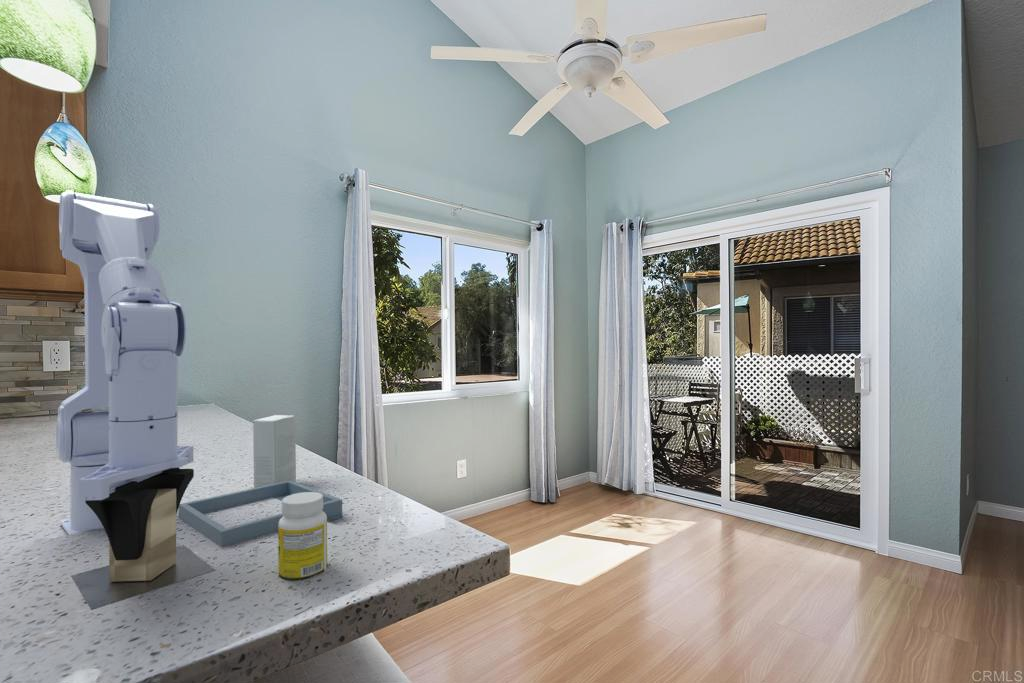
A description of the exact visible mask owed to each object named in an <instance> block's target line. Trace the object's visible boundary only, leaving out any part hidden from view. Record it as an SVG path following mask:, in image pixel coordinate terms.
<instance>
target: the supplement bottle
mask: <svg viewBox="0 0 1024 683" xmlns="http://www.w3.org/2000/svg"><path fill="white" fill-rule="evenodd" d="M322 509H323V495H322V494H320V493H316V492H303V493H296V494H292V495H289V496H287V497H285V498H283V500H282V501H281V514H283V515H284V516H283V517H282V518H281V519H280V520H279V524H278V531H277V534H278V538H277V540H278V545H277V546H278V577H279V578H280V579H282V580H284V581H290V582H291V581H293V582H294V581H295V582H296V581H304V580H308V579H312V578H314V577H316V576H319V575H321V574H323V573H324V572H325V571H327V568H328V522H327V516H326V514H325V512H323V511H322Z"/></svg>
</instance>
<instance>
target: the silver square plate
mask: <svg viewBox="0 0 1024 683" xmlns="http://www.w3.org/2000/svg"><path fill="white" fill-rule="evenodd" d="M211 572H216V569H215V568H213V567H212V566H211V565H209V564H208V563H207V562H206V561H205V560H204V559H202V558H201V557H199V556H198V555H197V554H196V553H195V552H193V551H192V550H191V549H190V548H188V547H187V546H185V544H183V545H180V546H176V563H175V564H174V565H172V566H171V567H169V568H168V569H167V570H165V571H164V572H162V573H161V574H159V575H158V576H157V577H155V578H154V579H152V580H149V581H117V582H109V565H105V566H103V567H98V568H94V569H90V570H87V571H84V572H80V573H77V574H76V573H75V574H71V576H70V577H71V578H72V580H73V582H74V583H75V586H76V587H77V588H78V590H79V592H80V594H81V596H82V597H83V598H84V600H85V602H86V604H87V605H88V607H89V609H90V610H91V611H92V610H95V609H99V608H103V607H105V606H108V605H111V604H114V603H117V602H120V601H123V600H127V599H131V598H135V597H136V596H139V595H143V594H145V593H149V592H151V591H152V592H153V591H155V590H159V589H161V588H164V587H168V586H171V585H175V584H176V583H180V582H183V581H187V580H189V579H192V578H197V577H199V576H202V575H205V574H208V573H211Z"/></svg>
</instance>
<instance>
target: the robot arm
mask: <svg viewBox="0 0 1024 683" xmlns="http://www.w3.org/2000/svg"><path fill="white" fill-rule="evenodd" d="M58 230H59V250H60V251H61V254H62V258H63V259H65V260H67V261H69V262H71V263H74V264H75V265H77V266H78V267H79V270H80V274H81V277H82V280H83V284H84V285H83V286H84V287H83V288H84V292H83V293H84V298H83V299H84V376H85V380H84V381H85V383H84V384H85V386H84V387H83V388H82V389H80V390H79V391H77V392H75V393H73V394H72V395H70V396H69V397H67V398H65V399H64V400H63V401H62V402H61V403H60V406H58V408H57V419H56V425H55V446H56V448H55V450H56V456H57V459H58V460H59V461H61V462H62V463H68V464H69V465H70V479H69V482H70V483H69V490H70V491H69V500H70V501H69V518H65V519H64V518H63V519H61V520H60V522H59V523H60V525H61V527H62V528H63V529H64V531H65V532H66V534H67V535H69V536H70V535H74V534H79V533H83V532H87V531H92V530H100V529H104V531H105V533H106V536H107V539H108V543H109V542H110V545H111V548H112V551H113V554H114V557H115V559H116V560H136V559H138V558H140V557H141V556H142V552H143V549H144V544H145V535H146V525H147V520H148V515H149V512H150V509H151V506H152V503H153V501H154V498H155V496H156V494H157V492H158V489H176V516H177V514H178V508H179V505H180V504H181V501H182V499H183V497H184V494H185V492H186V490H187V488H188V486H189V484H190V483H191V482H192V480H193V478H195V477H194V476H195V473H194V472H195V471H194V468H183V467H184V466H187V465H189V464H191V463H193V462H194V445H178V402H179V401H178V400H179V399H178V390H179V389H178V377H179V376H178V372H179V371H178V368H179V367H178V366H179V365H178V362H179V360H178V357H181V356H182V354H183V352H184V349H185V345H186V339H187V338H186V337H187V334H186V333H187V324H186V322H187V321H186V316H185V315H186V314H185V311H184V308H183V306H182V304H181V302H180V303H179V302H177V301H176V299H170V298H169V296H168V292H167V288H166V286H165V283H164V280H163V277H162V274H161V271H160V270H159V268H158V267H157V266H156V265H155V264H153V263H152V262H150V259H151V257H152V255H153V252H154V249H155V247H156V246H157V244H158V241H159V236H160V234H159V233H160V214H159V211H158V210H157V209H156V207H155V205H153V204H152V203H146V204H144V203H140V202H139V203H138V202H135V201H129V200H128V201H127V200H122V199H116V198H110V197H105V196H104V197H103V196H97V195H93V194H85V193H79V192H74V191H73V190H72V189H71V190H70V189H65V191H64V192H62V193H61V194H60V197H59V205H58ZM100 408H103V409H104V408H108V410H106V411H93V412H81V411H83V410H87V409H89V410H90V409H100ZM79 412H81V413H79Z"/></svg>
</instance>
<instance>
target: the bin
mask: <svg viewBox="0 0 1024 683" xmlns="http://www.w3.org/2000/svg"><path fill="white" fill-rule="evenodd" d="M303 492H316V493H320V494H322V495H323V509H322V511H323V512H325V514H326V516H327V523H328V522H330V521H331V522H332V521H335V520H337V519H341V518H343V499H342V498H340V497H336V496H334V495H331V494H328V493H326V492H323V491H320V490H318V489H316V488H313V487H309V486H306V485H304V484H302V483H299V482H294V481H291V480H290V481H285V482H280V483H276V484H271V485H266V486H262V487H257V488H254V487H253V488H248V489H244V490H237V491H235V492H231V493H226V494H225V493H224V494H220V495H215V496H211V497H207V498H202V499H198V500H192V501H188V502H182V503H180V505H179V508H178V511H177V514H178V516H177V517H178V518H180V520H182V521H183V522H185V523H187V524H188V525H189V526H191V527H192V528H194V530H196V531H198V532H199V533H201V534H202V535H204V536H205V537H207V539H209V540H211V541H212V542H214V543H215V544H216V545H218V546H220V547H222V548H223V547H226V546H229V545H232V544H235V543H239V542H242V541H246V540H250V539H253V538H257V537H260V536H264V535H267V534H270V533H274V532H278V524H279V520H280V519H281V518H282V517H283V516H284V515H283V514H282V513H279V514H276V515H275V514H274V515H271V516H268V517H263V518H259V519H257V520H252V521H249V522H245V523H241V524H236V525H234V526H230V527H225V526H223V525H221V524H220V523H218V522H217V521H215V520H214V519H212V518H211V517H209V516H206V514H205V513H209V512H213V511H217V510H222V509H226V508H229V507H235V506H239V505H244V504H249V503H251V502H256V501H261V500H264V499H269V498H274V499H276V500H278V501H281V502H282V500H283V498H285V497H287V496H289V495H292V494H296V493H303Z"/></svg>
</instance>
